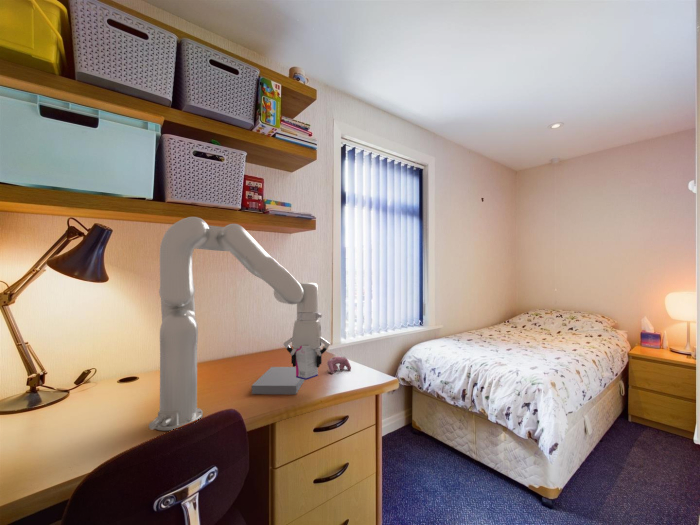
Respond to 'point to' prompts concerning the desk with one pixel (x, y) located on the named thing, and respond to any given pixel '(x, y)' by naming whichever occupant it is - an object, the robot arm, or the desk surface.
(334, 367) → the pink toy elephant
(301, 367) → the supplement box
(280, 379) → the riser
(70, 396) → the desk surface
